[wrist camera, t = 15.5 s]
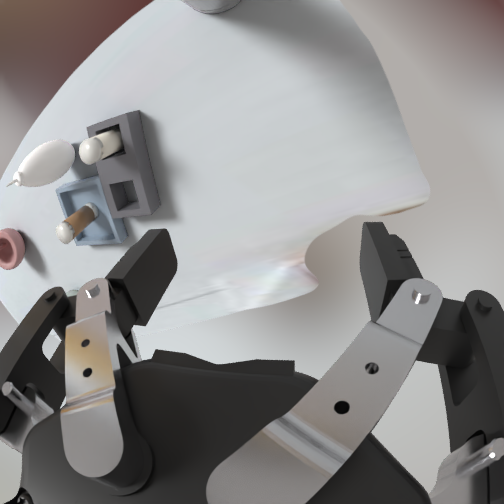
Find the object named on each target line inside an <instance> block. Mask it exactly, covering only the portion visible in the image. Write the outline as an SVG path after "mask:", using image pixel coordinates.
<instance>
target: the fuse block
mask: <svg viewBox="0 0 504 504" xmlns="http://www.w3.org/2000/svg"><path fill="white" fill-rule="evenodd" d="M116 124H119V126H120V130H121V135H122V139H123V144H124V148H125V152H121V153H117V154H115V153H113V154H111V155H109V156H107V157H105V158H103V159H101V160H99V161H97V162H95V164H96V167H97V171H98V174H99V178H100V181H101V185H102V188H103V191H104V195H105V198H106V201H107V204H108V207H109V210H110V213H111V216H112V219H114V218H123V217H132V216H142V215H151V214H152V213H153V212H154V211H155V210H156V209H157V208H158V207H159V206H160V205H161V204H160V200H159V196H158V192H157V188H156V184H155V180H154V176H153V172H152V168H151V164H150V160H149V155H148V151H147V147H146V142H145V138H144V133H143V128H142V123H141V118H140V113H139V110H137V111H133V112H129V113H126V114H122V115H119V116H116V117H114V118H111V119H108V120H105V121H102V122H99V123H97V124H94V125H92V126H89V127H87V131H88V136H89V138H91V137H94V136H97V135H99V134H102V133H105V132H107V131H109V127H110V126H113V125H116ZM129 180H133V183H134V187H135V190H136V194H137V198H138V201H136V202H128V200H127V197H126V194H125V190H124V187H123V183H122V182H124V181H129Z"/></svg>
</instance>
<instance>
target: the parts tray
mask: <svg viewBox="0 0 504 504" xmlns="http://www.w3.org/2000/svg"><path fill="white" fill-rule="evenodd" d="M56 193H57V196H58V199H59V202H60V205H61V208H62V210H63V213H64V216H65V218H66V219H67V218H68V217H69V216H71V215H72V214H73V213H75V212H76V211H77V210H79V209H80V208H81V207H82V206H84V205H85V204H87V203H88V202H92V203H94V204H95V205H96V206H97V208H98V210H99V216H98V218H97V219H96V220H94V221H93V222H92V223H91V224H90V225H89V226H87V227H86V228H85V229H84V230H83V231H82V232H81V233H79V234H78V235H77V236H76V237H75V238H74V241H75V243H76V246H79V245H98V244H118V243H122V242H123V241H124V240H125V239H126V237H127V236H128V234H127V231H126V228H125V226H124V223H123V220H122V218H114V219H112V216H111V213H110V210H109V207H108V204H107V201H106V198H105V195H104V191H103V188H102V185H101V181H100V178H99V175H97V176H93V177H89V178H85V179H82V180H78V181H74V182H71V183H67V184H64V185H62V186H61V187H59V188H57V189H56Z"/></svg>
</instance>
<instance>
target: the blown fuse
mask: <svg viewBox="0 0 504 504" xmlns="http://www.w3.org/2000/svg"><path fill="white" fill-rule="evenodd" d="M98 216H99V210H98V208H97V206H96V205H95V204H94V203H92V202H88V203H87V204H85V205H84V206H82V207H81V208H80V209H79V210H77V211H76V212H75V213H73V214H72V215H71V216H69V217H68V218H67V219H66V220H64V221H63V222H62V223H61V224H59V225H58V226H57V227H56V234H57V237H58V238H59V240H60V241H61V242H63V243H64V244H68V243H69V242H71V241H72V240H73V239H74V238H75V237H76V236H77V235H78V234H79V233H81V232H82V231H83V230H84V229H85V228H86V227H87V226H89V225H90V224H91V223H92V222H93V221H94V220H96V219H97V218H98Z"/></svg>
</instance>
